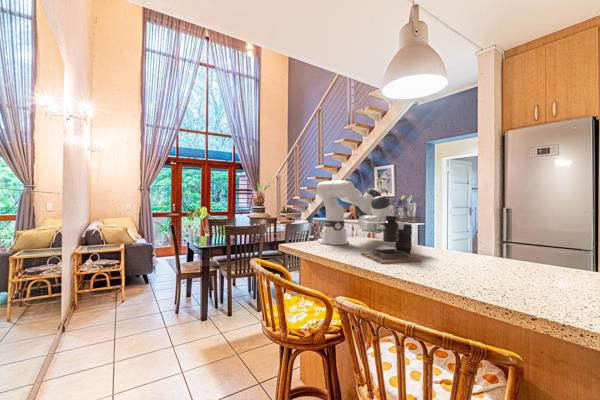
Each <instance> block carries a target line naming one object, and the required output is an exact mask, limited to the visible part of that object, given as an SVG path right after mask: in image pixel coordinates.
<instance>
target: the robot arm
mask: <svg viewBox="0 0 600 400" xmlns="http://www.w3.org/2000/svg"><path fill="white" fill-rule="evenodd" d="M315 190H316V194H317V195H318V196H319V198H320V199H322V201H323V204H324V207H325V221H324V227H323V229H322V230H321V232H319V233H318V234H319V238H317V241H318V243H319V244H323V245H330V246H331V245H334V246H335V245H336V246H337V245H338V246H339V245H341V246H343V245H346V244H349V243H350V242H349V240H348V237H347V235H348V234H347V229H346V228H345V225H346V224H345V220H344V217H345V215H344V214H345V211H344V210H345V209H344V207H343V206H342V205H341V204H339V202H338V199H339V201H342V202H345V203H348V204H352V205H354V207H353V208H354V211H355V214H356V215H357V216H358V220H357V222H358V223H357V224H358V227H359V228H360V229H361V231H362V232H366V233H367V232H368V233H369V232H370V233H373V234H374V233H375V234H381V233H383V229H386V228H385V227H386V226H385V225H384V222H385V221H386V216H393V214H392V209H391V204H390V203H391V202H390V198H388V196H384V195H382V194H381V192H380V191H379V190H378V189H377V188H373V187H368V188H367V189H366V191H365V193H364V194H362V191H360V189H358V188H356V187H355V184H354V183H353V181H350V180H346V179H345V180H344V179H343V180H341V179H339V180H324V181H321V182H320V181H319V183H318V184H317V185H316V189H315ZM396 222H398V224H399V230H401V229H404V222H403V221H397V220H396Z"/></svg>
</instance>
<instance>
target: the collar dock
mask: <svg viewBox="0 0 600 400" xmlns="http://www.w3.org/2000/svg"><path fill="white" fill-rule="evenodd" d="M360 256H363V257H364V258H367V259H369V260H372V261H374V262H376V263H379V264H381V265H387V264H388V265H389V264H407V263H422V262H423V259H421V258H419V257H415V256H412V255H410V254H408V253H405V252H402V251H399V250H396V248H395V249H394V248H389V249H388V248H387V249H371V252H369V251H368V252H360Z"/></svg>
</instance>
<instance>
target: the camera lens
mask: <svg viewBox="0 0 600 400" xmlns="http://www.w3.org/2000/svg"><path fill="white" fill-rule="evenodd" d="M403 223H404V222H403ZM412 235H413V226H412V224H411V223H404V229H401V230H399V232H398V242H394V243H395V244H394V245H395V246H394V247H395V250H399V251H402V252H405V253H408V254H409V255H410V254H411V251H412Z"/></svg>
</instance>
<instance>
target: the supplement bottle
mask: <svg viewBox="0 0 600 400" xmlns="http://www.w3.org/2000/svg"><path fill="white" fill-rule="evenodd" d="M396 221H397V215H392V216H386V221H385V222H384V225H385V226H386V227H385V228H386V229H383V232H382V233H383V234H382V235H383V237H382V240H383V242H387V243H395V242H398V232H399V224H398V222H399V221H397V222H396Z"/></svg>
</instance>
